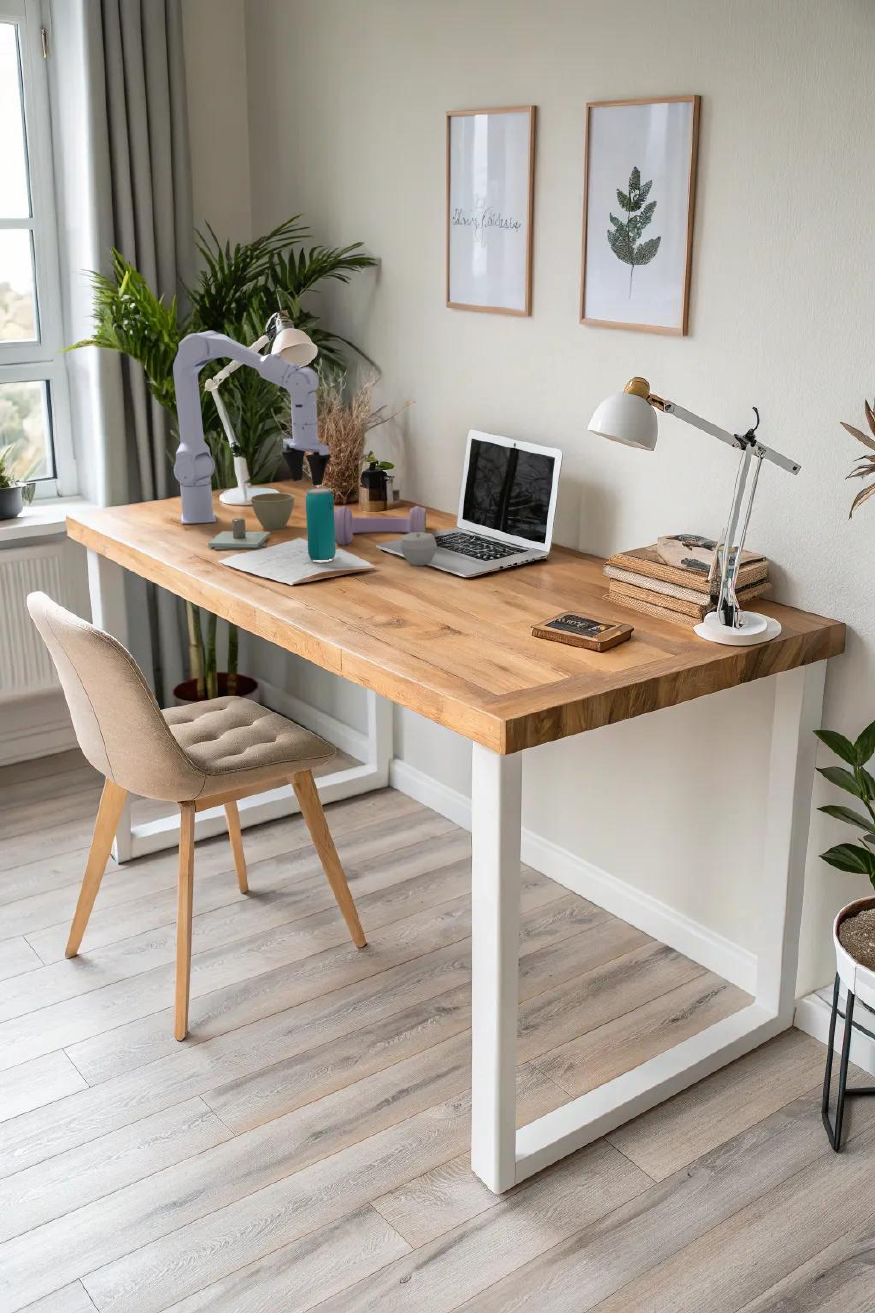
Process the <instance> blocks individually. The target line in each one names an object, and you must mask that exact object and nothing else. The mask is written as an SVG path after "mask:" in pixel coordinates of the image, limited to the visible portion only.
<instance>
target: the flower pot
mask: <svg viewBox="0 0 875 1313" xmlns="http://www.w3.org/2000/svg"><path fill="white" fill-rule="evenodd" d="M250 501H251V505H252V509H253V512H254V514H255V517H256V518H257V521H258V522H259V524H260V525H261V526H262V528H263V529H265V530H282V529H284V528H286V526H287V525H288V522H289V520H290V518H291V515H292V512H293V508H294V503H295V495H294V494H291V493H286V492H285V493H284V492H270V493H268V492H267V493H266V492H265V493H261V494H256V495H253V496H251V497H250Z"/></svg>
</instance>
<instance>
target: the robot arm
mask: <svg viewBox="0 0 875 1313" xmlns="http://www.w3.org/2000/svg"><path fill="white" fill-rule="evenodd" d="M225 357H226V358H229V359H231V360H233V361H236V362H238V363H240V364H244V365H246V366H248V367H251V368H253V369H256V370H257V371H258V374H259V376H260V378H262V379H264V380H267V381H269V382H270V383H273V384H275V385H277V386H279V387H281V388H283V389H286V391H287V392H288V394H289V396H290V411H291V412H290V413H291V428H292V429H291V433H292V438H285V439H283V440H282V444H283V445H282V447H283V449H286V450H282V451H281V455H282V456H283V459H284V460H285V461H286V463H287V466H288V468H289V472H290V476H291V479H292V481H293V482H299V481H302V480H303V464H304V459H305V458H306V460H307V462H308V465H309V468H310V475H311V481H312V485H313V486H315V487H316V486H321V485H323V481H324V475H325V472H326V468H327V465H328V463H329V461H330V460H331V457H332V456H331V454H330V448H329V445H326V444H323V443H321V442H320V441H319V435H318V434H319V432H318V411H317V394H316V393H317V392H316V391H317V389H318V388H319V386H320V377H319V375H318V373H317V372H316V371H315V370H313V369H312V368H311V367H309V366H303V367H300V364H299V363H297V362H296V363H293V362H291V361H288V360H286V359H283V358H282V355H281V354H279V353H277V352H276V353H274V354H273V353H268V354H266V355H262V354H261V353H259V352H257V351H255V350H253V349H251V348H250V347H247V346H245V345H244V344H241V343H240V342H238V341H236V340H234V339H232V338H230V336H227V335H226V334H223V333H219V332H217V331H215V330H206V331H204V332H198V333H190V334H188V335H186V336H185V337H184V338H183V339H182V340H181V341H180V342H178V351H177V353H176V356H175V359H174V362H173V364H172V371H173V372H172V373H173V380H174V382H173V383H174V390H175V400H176V410H177V420H178V428H179V429H178V430H179V431H178V432H179V440H180V444H179V447H178V448H177V450H176V452H175V462H174V466H173V475H174V477H175V479H176V480H177V482H179V486H180V499H181V511H182V512H181V514H180V519H181V524H182V525H188V524H189V525H190V524H204V523H206V524H207V523H216V522H217V519H216V515H215V512H214V507H213V506H214V505H213V494H212V493H213V492H212V491H213V490H212V478H211V477H212V475H213V473H214V472H215V469H216V465H215V460H214V459H213V457H212V455H211V450H210V449H211V448H210V446H208V443H206V442H205V440H204V430H203V429H204V427H203V419H202V408H201V407H202V406H201V397H200V386H199V385H200V384H199V377H198V376H199V375H198V374H199V373H200V371H201V370H202V369H203V368H204V367H205V366H207V364H208V363H211V362H212V361H214V360H216V359H218V358H225ZM306 452H307V453H312V454H308V455H306Z"/></svg>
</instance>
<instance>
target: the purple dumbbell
mask: <svg viewBox="0 0 875 1313" xmlns="http://www.w3.org/2000/svg"><path fill="white" fill-rule="evenodd" d="M426 512H427V510H426V508H424V507H421V506H419V505H415V506H414V507H412V508H410V510H409V513H408V516H407V517H406V516H405V517H404V516H403V517H402V516H400V517H399V516H398V517H397V516H396V517H395V516H394V517H393V516H388V517H387V516H385V517H383V516H379V517H378V516H373V517H372V516H371V517H370V516H369V517H367V516H366V517H365V516H364V517H363V516H362V517H361V516H360V517H353V513H352V510H351V508H349V507H347V506H342V505H341V506H340V507H338V508H334V523H335V544H339V545H341V546H347V545H349V544H351V542H352V540H353V534H368V533H370V534H371V533H372V534H373V533H374V534H376V533H398V534H399V533H400V534H401V533H404V534H409V533H415V532H423V533H427V514H426Z"/></svg>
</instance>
